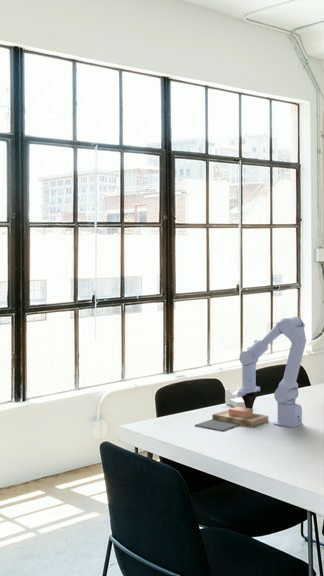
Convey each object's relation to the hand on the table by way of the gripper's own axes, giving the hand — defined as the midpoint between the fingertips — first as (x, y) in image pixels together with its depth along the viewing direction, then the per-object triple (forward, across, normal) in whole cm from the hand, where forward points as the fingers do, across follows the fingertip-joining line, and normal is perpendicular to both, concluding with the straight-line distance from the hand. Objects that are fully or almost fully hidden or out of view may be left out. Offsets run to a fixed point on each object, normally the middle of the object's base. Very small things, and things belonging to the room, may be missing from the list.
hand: (249, 410), depth 289 cm
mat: (+3, +19, -3) cm, 20 cm away
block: (+1, +6, 0) cm, 6 cm away
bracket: (+4, -16, -17) cm, 24 cm away
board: (+3, +7, 0) cm, 8 cm away
